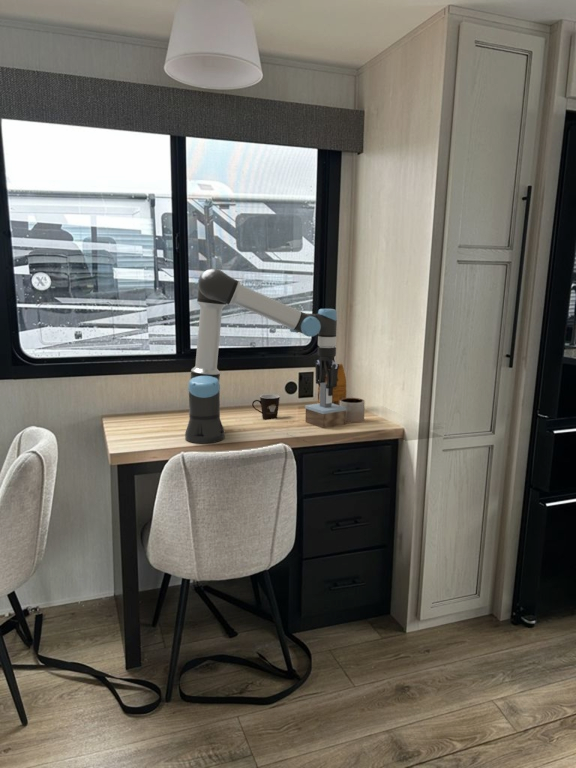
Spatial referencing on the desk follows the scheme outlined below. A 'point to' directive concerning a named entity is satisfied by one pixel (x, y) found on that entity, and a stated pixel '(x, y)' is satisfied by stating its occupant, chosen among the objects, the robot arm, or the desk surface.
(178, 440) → the desk surface
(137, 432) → the desk surface
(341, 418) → the crate
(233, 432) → the desk surface
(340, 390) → the coffee package
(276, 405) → the coffee mug
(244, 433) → the desk surface
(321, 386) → the lid
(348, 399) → the planter
